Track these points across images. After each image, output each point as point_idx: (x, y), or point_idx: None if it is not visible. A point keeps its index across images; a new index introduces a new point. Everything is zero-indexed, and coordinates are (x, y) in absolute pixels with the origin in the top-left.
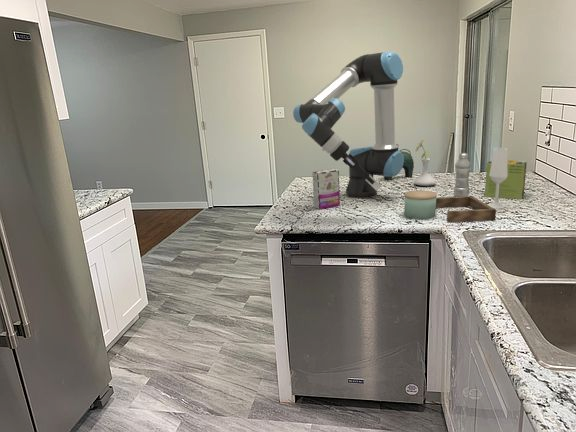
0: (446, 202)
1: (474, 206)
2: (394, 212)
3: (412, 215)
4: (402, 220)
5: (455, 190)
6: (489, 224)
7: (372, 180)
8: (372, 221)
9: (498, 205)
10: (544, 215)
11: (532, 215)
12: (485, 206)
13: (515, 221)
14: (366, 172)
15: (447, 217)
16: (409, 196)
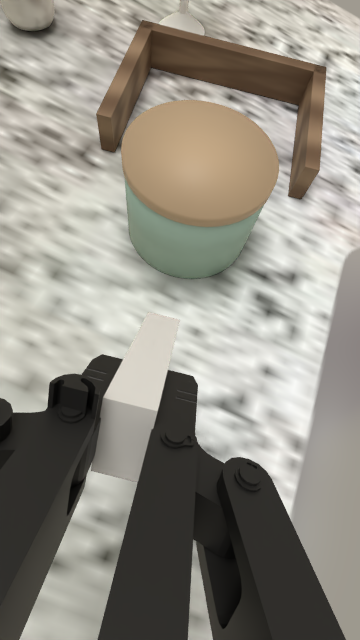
0: (129, 96)
1: (191, 66)
2: (107, 287)
3: (226, 263)
4: (236, 314)
5: (20, 3)
6: (344, 131)
7: (195, 401)
8: (210, 444)
9: (196, 23)
10: (295, 15)
11: (289, 28)
12: (278, 63)
13: (330, 77)
14: (295, 536)
15: (299, 186)
16: (233, 216)
